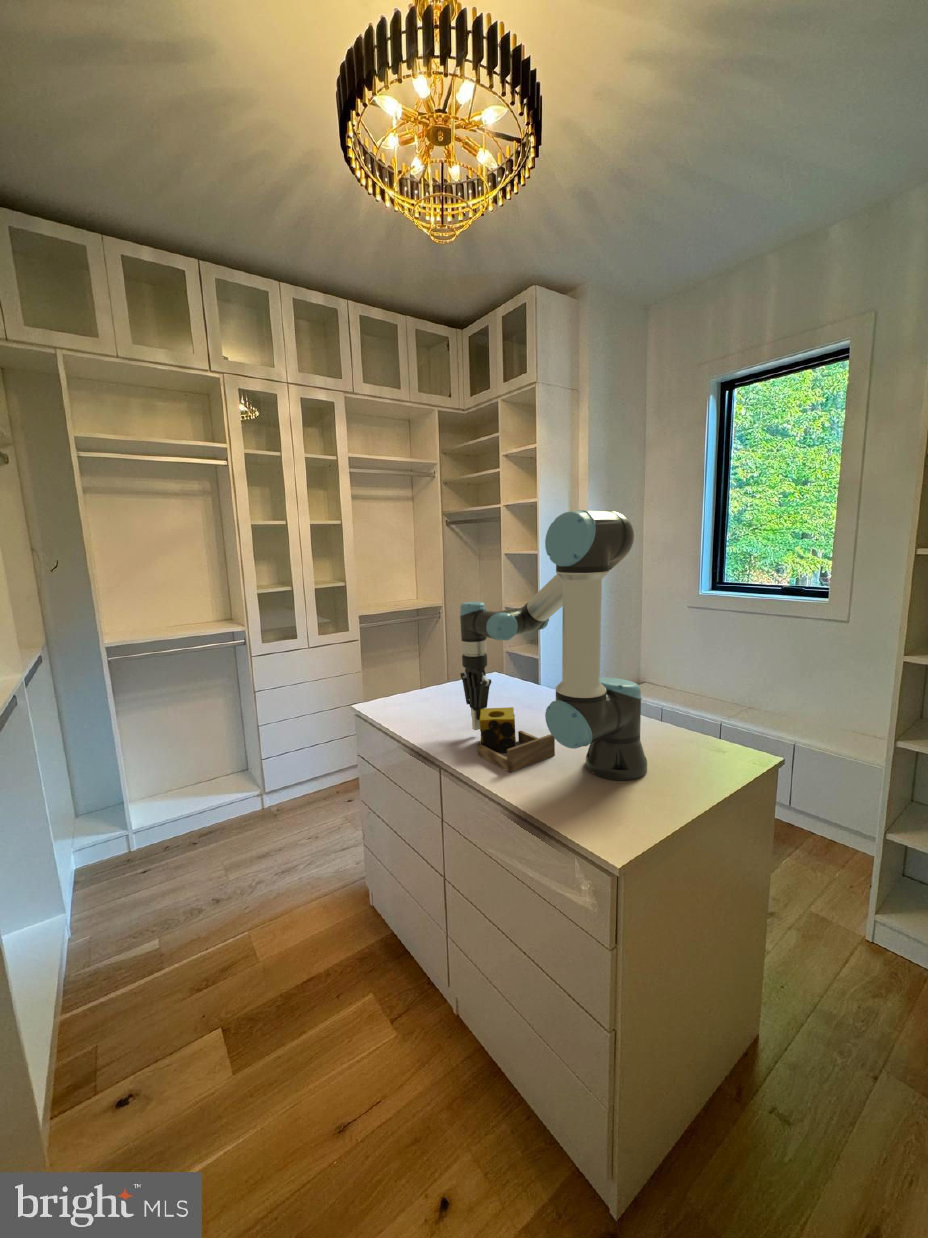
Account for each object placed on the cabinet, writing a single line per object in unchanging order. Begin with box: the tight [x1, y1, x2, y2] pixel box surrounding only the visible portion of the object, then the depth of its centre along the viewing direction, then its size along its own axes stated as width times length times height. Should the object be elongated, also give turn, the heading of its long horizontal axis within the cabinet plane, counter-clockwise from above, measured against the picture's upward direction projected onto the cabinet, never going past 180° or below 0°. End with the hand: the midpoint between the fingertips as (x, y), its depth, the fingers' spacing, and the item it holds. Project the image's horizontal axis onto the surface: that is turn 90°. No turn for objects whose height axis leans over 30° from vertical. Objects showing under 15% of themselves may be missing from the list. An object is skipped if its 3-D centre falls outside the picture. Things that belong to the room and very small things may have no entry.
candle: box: [479, 706, 517, 753], centre depth 144 cm, size 10×10×10 cm
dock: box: [477, 730, 556, 773], centre depth 137 cm, size 14×16×6 cm
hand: (477, 728), depth 152 cm, fingers closed
